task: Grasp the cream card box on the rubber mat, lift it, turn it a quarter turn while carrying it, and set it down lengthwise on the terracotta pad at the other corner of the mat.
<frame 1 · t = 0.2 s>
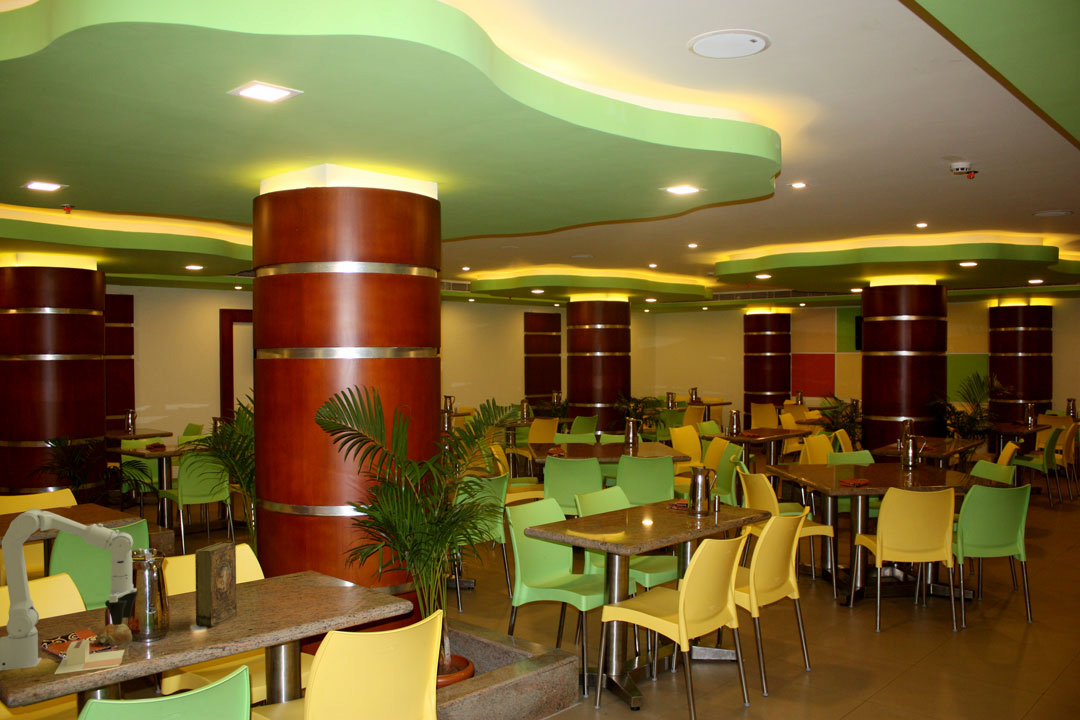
hand: (121, 621, 253), 10 cm above the table, tool pointing down, fingers open, 7 cm apart
bread roll: (114, 644, 264), on the table
card box: (78, 660, 246), point 1 cm above the table, touching mat
mat: (90, 663, 245), on the table
book: (217, 621, 287), on the table
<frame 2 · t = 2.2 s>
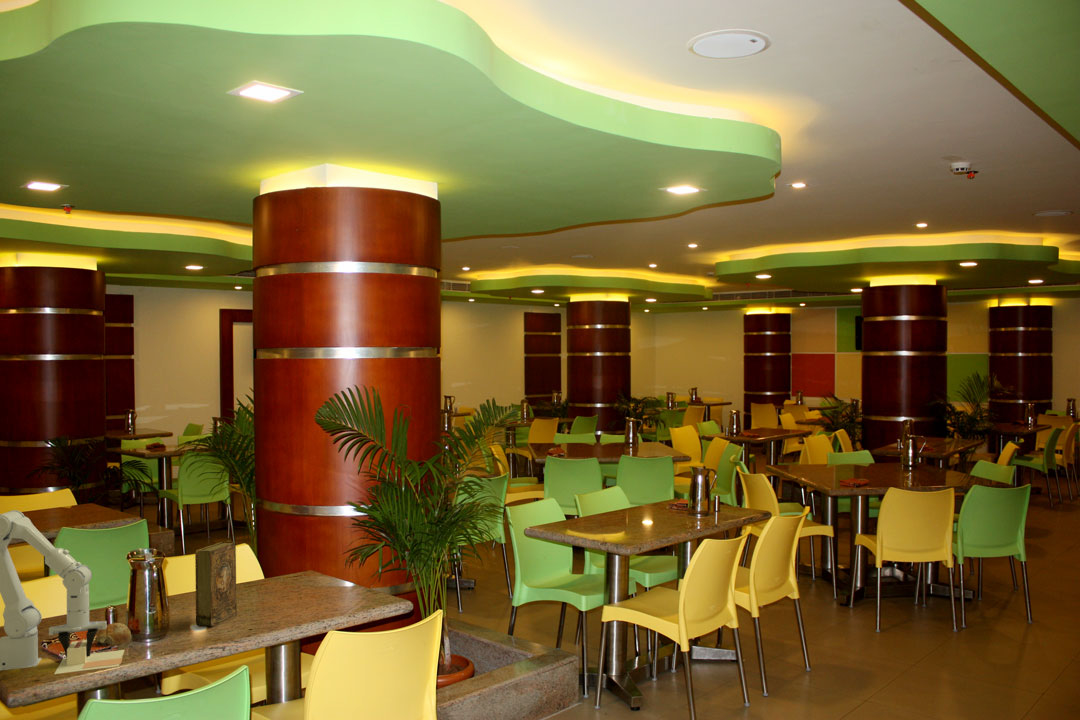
hand: (78, 656, 246), 2 cm above the table, tool pointing down, fingers closed on card box, 4 cm apart
card box: (78, 660, 246), point 1 cm above the table, touching gripper, mat
everything else where it was.
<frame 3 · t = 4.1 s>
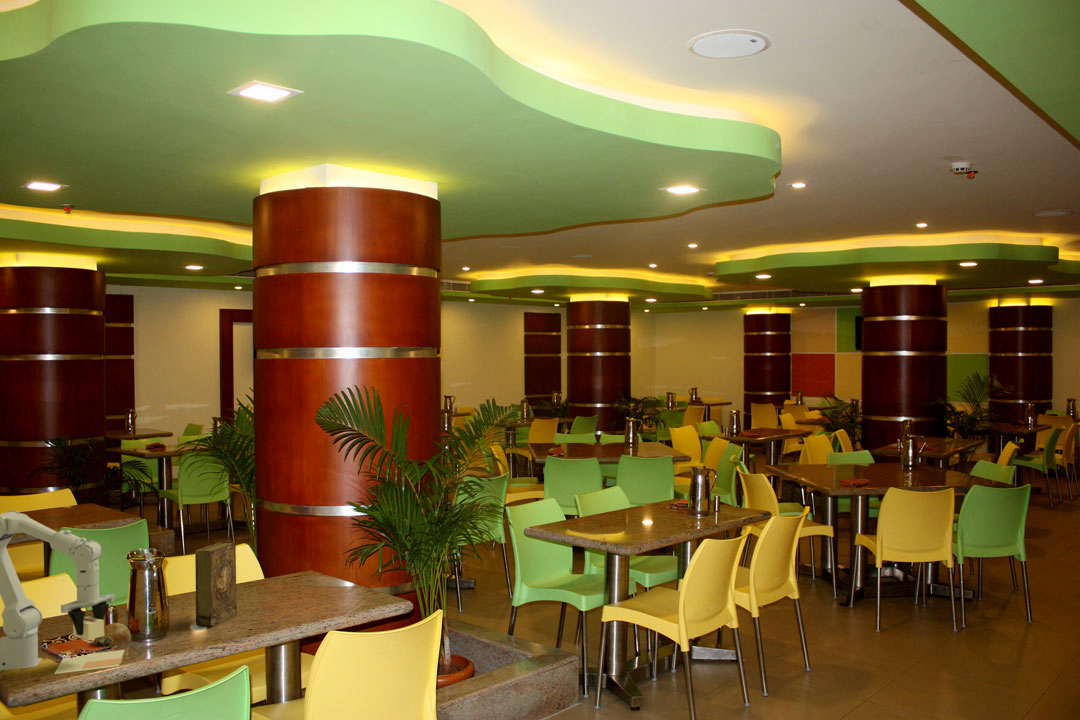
hand: (88, 632, 245), 9 cm above the table, tool pointing down, fingers closed on card box, 4 cm apart
card box: (88, 636, 245), point 8 cm above the table, touching gripper
everything else where it was.
when the fingers open (3 cm above the table, at t = 6.5 s): card box drops 1 cm, resting on mat.
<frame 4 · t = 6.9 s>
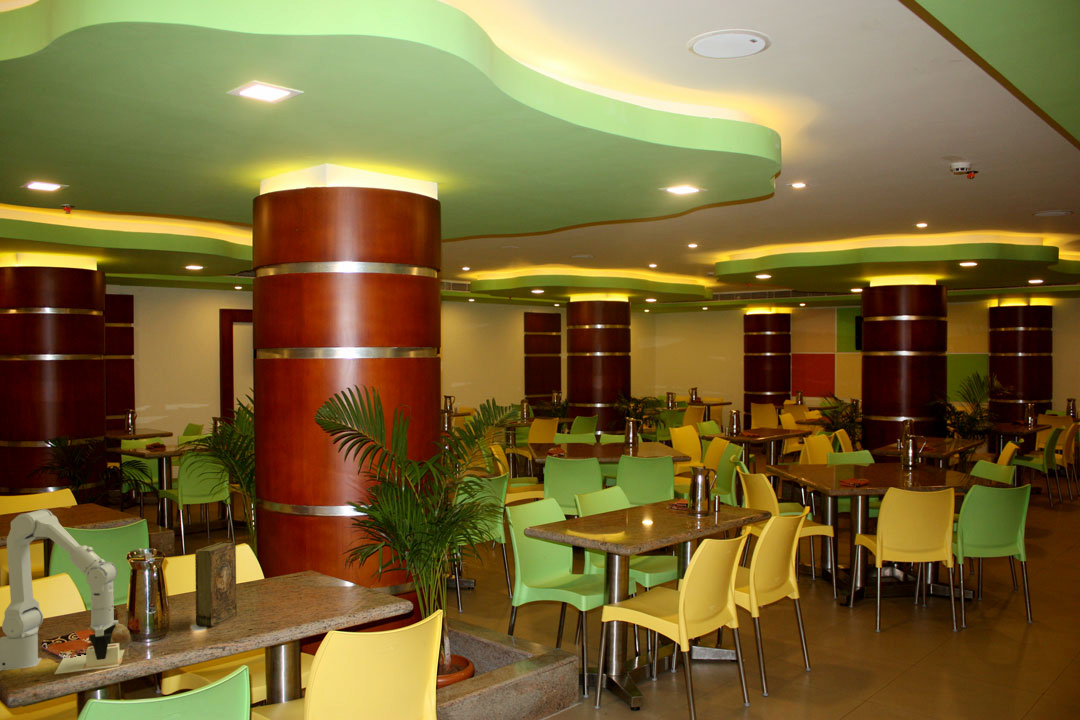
hand: (102, 655, 243), 3 cm above the table, tool pointing down, fingers open, 7 cm apart
card box: (103, 662, 243), point 1 cm above the table, touching mat
everything else where it was.
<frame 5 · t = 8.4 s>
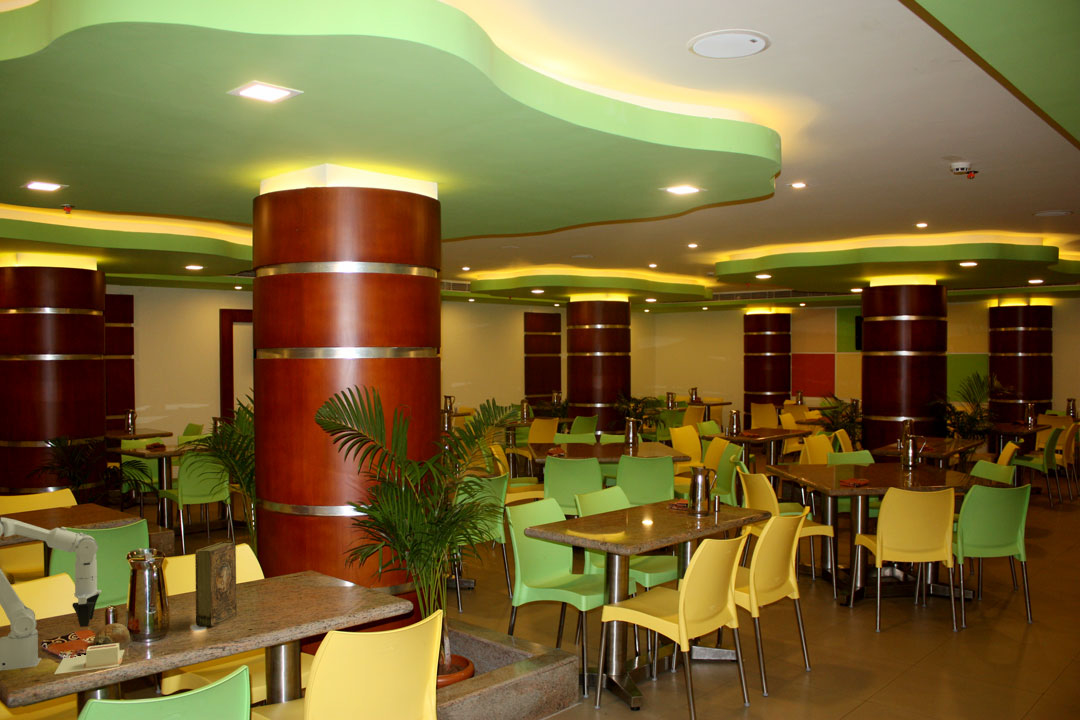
hand: (86, 623, 253), 9 cm above the table, tool pointing down, fingers open, 7 cm apart
nothing on the table moved.
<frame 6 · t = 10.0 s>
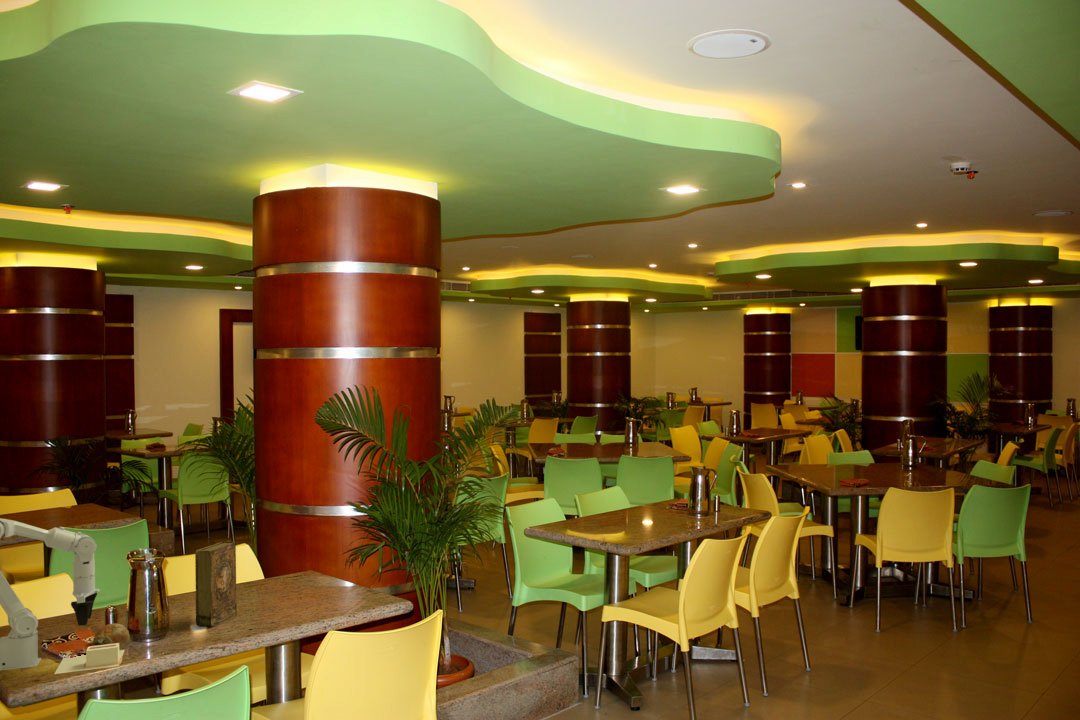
hand: (84, 621, 254), 9 cm above the table, tool pointing down, fingers open, 7 cm apart
nothing on the table moved.
at the end: card box 0.1 cm from the target spot on the mat, point 0.7 cm above the mat's base; card box tilted 0°; the gripper is holding nothing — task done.
